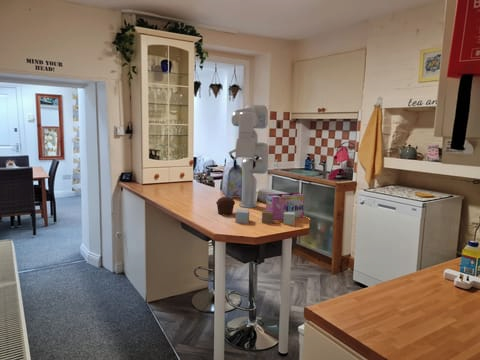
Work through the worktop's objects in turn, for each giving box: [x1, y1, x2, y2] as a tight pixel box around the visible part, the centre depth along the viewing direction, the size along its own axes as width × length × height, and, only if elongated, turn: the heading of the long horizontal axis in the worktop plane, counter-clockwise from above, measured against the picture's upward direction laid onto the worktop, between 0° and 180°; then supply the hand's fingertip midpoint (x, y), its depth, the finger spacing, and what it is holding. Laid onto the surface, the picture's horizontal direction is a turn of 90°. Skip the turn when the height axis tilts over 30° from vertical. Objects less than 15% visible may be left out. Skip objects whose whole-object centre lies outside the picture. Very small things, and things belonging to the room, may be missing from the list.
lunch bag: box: [221, 159, 242, 199], centre depth 274 cm, size 22×17×26 cm
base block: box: [234, 209, 250, 224], centre depth 202 cm, size 7×7×6 cm
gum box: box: [265, 192, 306, 221], centre depth 215 cm, size 24×8×14 cm, turn 116°
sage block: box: [282, 211, 296, 226], centre depth 202 cm, size 6×6×6 cm
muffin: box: [215, 196, 236, 216], centre depth 219 cm, size 12×11×10 cm
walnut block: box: [261, 209, 274, 225], centre depth 203 cm, size 6×6×6 cm
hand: (244, 168), depth 193 cm, fingers open, 9 cm apart
